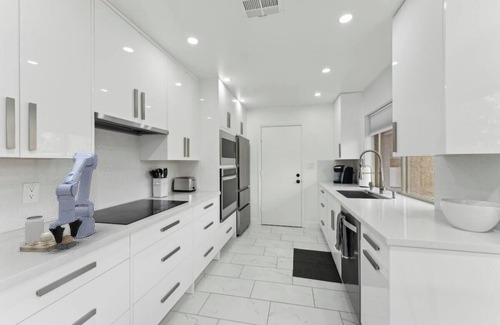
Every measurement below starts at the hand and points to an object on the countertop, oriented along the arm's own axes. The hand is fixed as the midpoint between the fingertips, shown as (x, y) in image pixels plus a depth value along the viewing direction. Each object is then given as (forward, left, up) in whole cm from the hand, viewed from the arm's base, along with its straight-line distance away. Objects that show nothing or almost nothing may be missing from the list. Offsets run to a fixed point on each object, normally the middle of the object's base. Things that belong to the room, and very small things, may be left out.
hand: (66, 239), depth 99 cm
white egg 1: (-3, -12, 0) cm, 13 cm away
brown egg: (0, 0, 0) cm, 0 cm away
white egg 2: (-3, -7, 0) cm, 7 cm away
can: (-5, -21, -4) cm, 21 cm away
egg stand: (0, 0, -3) cm, 3 cm away
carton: (0, -10, -3) cm, 10 cm away
